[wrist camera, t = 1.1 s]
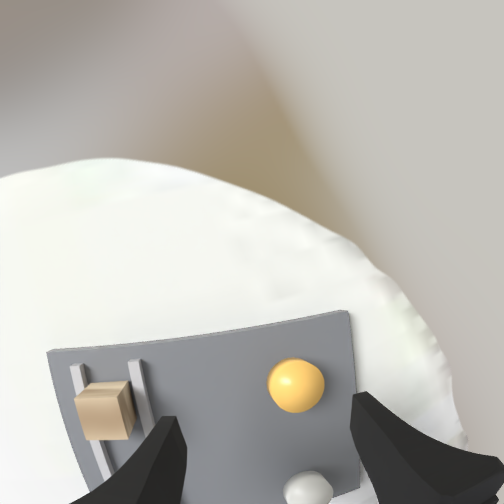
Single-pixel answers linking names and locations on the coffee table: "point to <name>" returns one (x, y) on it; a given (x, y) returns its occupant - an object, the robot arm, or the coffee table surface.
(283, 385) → the amber button
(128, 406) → the beige wooden cube
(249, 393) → the panel
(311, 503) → the white dome
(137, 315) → the coffee table surface
